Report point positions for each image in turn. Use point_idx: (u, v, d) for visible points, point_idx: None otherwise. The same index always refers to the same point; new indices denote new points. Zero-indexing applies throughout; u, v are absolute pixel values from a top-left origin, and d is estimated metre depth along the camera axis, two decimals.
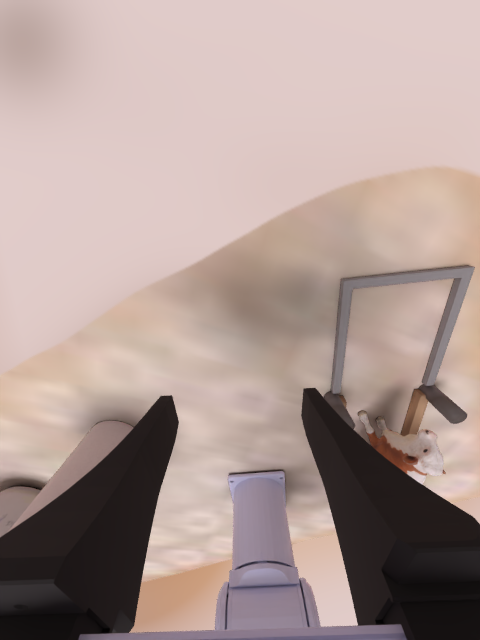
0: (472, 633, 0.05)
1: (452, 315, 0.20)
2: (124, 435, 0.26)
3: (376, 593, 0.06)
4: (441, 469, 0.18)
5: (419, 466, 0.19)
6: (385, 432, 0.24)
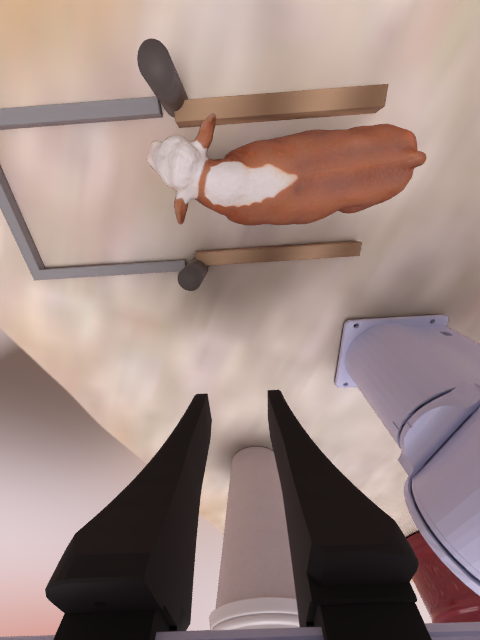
0: (384, 636, 0.05)
1: (28, 117, 0.14)
2: (237, 462, 0.28)
3: (305, 595, 0.06)
4: (175, 149, 0.09)
5: (186, 191, 0.10)
6: None
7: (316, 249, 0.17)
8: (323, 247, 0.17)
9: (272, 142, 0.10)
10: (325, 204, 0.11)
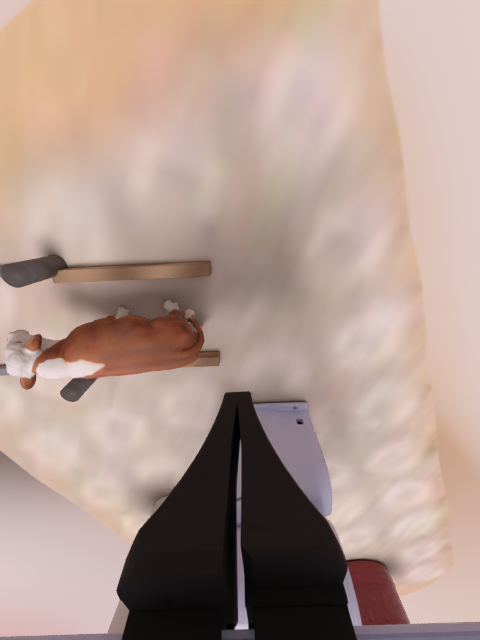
0: (311, 638, 0.05)
1: None
2: (155, 510, 0.32)
3: None
4: (7, 360, 0.13)
5: (26, 374, 0.14)
6: None
7: None
8: None
9: (89, 339, 0.15)
10: (137, 372, 0.16)
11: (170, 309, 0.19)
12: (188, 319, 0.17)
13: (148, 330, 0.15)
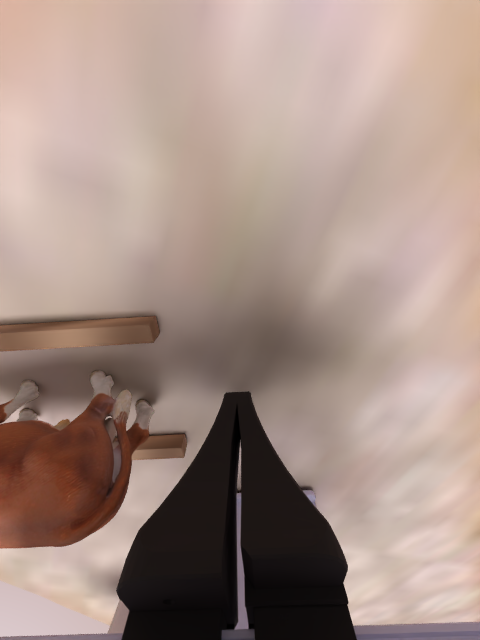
0: (311, 638, 0.05)
1: None
2: (121, 603, 0.25)
3: None
4: None
5: None
6: None
7: None
8: (138, 451, 0.14)
9: None
10: None
11: (94, 393, 0.12)
12: (113, 422, 0.10)
13: (10, 480, 0.08)
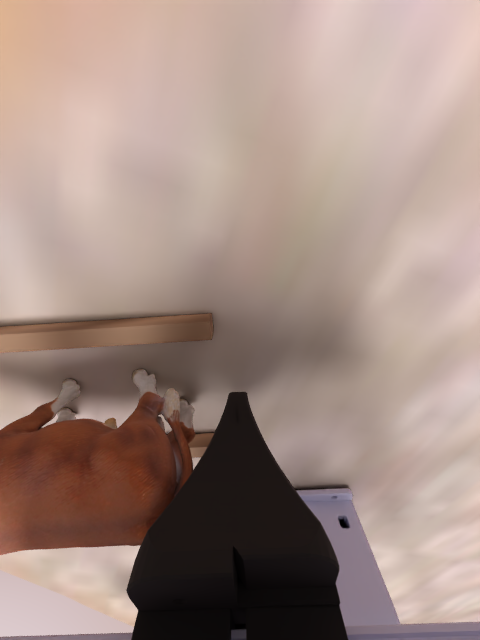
0: (302, 638, 0.05)
1: None
2: None
3: None
4: None
5: None
6: None
7: None
8: None
9: None
10: None
11: (141, 391, 0.12)
12: (167, 420, 0.10)
13: (82, 478, 0.08)
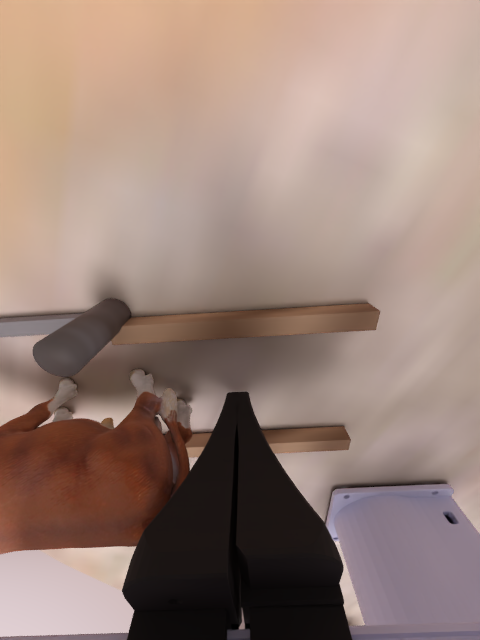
0: (306, 638, 0.05)
1: None
2: None
3: None
4: None
5: None
6: None
7: (296, 445, 0.14)
8: (305, 443, 0.14)
9: None
10: None
11: (138, 391, 0.12)
12: (164, 420, 0.10)
13: (77, 479, 0.07)
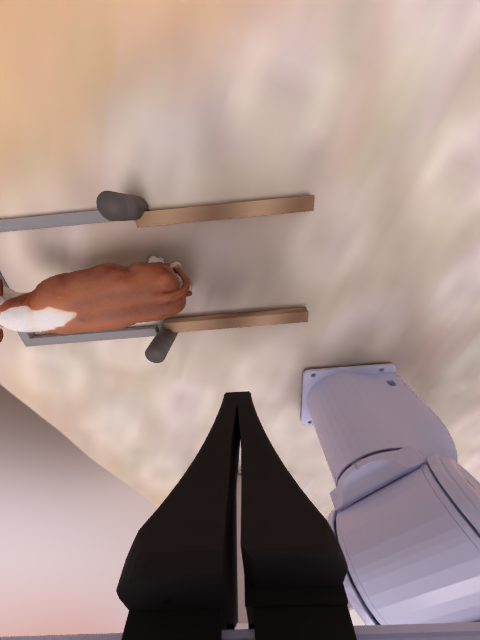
0: (311, 638, 0.05)
1: (14, 226, 0.17)
2: None
3: None
4: None
5: None
6: None
7: (269, 317, 0.20)
8: (275, 315, 0.20)
9: (58, 285, 0.13)
10: (116, 324, 0.14)
11: None
12: (173, 269, 0.15)
13: (124, 273, 0.13)
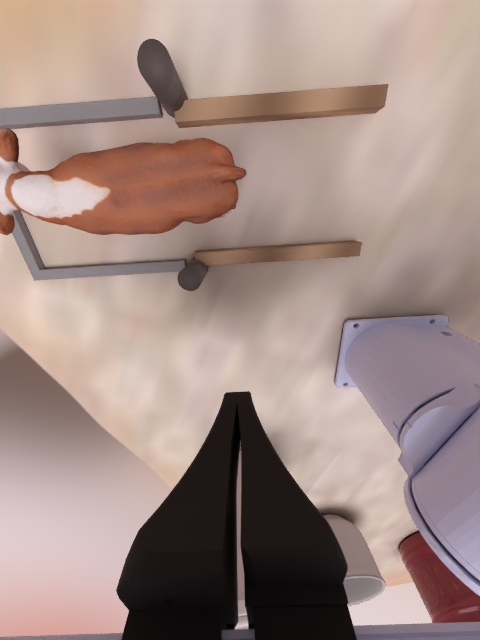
0: (311, 638, 0.05)
1: (28, 117, 0.14)
2: None
3: None
4: None
5: None
6: None
7: (316, 249, 0.17)
8: (323, 247, 0.17)
9: (87, 155, 0.10)
10: (155, 216, 0.11)
11: None
12: None
13: (170, 144, 0.10)
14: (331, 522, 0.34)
